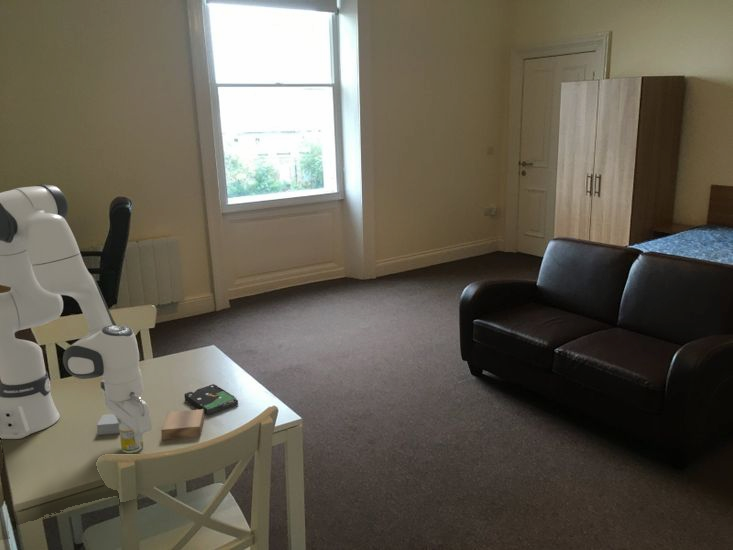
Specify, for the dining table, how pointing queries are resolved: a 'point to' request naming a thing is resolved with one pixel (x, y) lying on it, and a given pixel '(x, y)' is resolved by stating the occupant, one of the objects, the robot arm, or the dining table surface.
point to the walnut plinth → (183, 424)
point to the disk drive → (211, 399)
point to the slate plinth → (108, 424)
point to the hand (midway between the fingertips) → (131, 435)
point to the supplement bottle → (128, 439)
